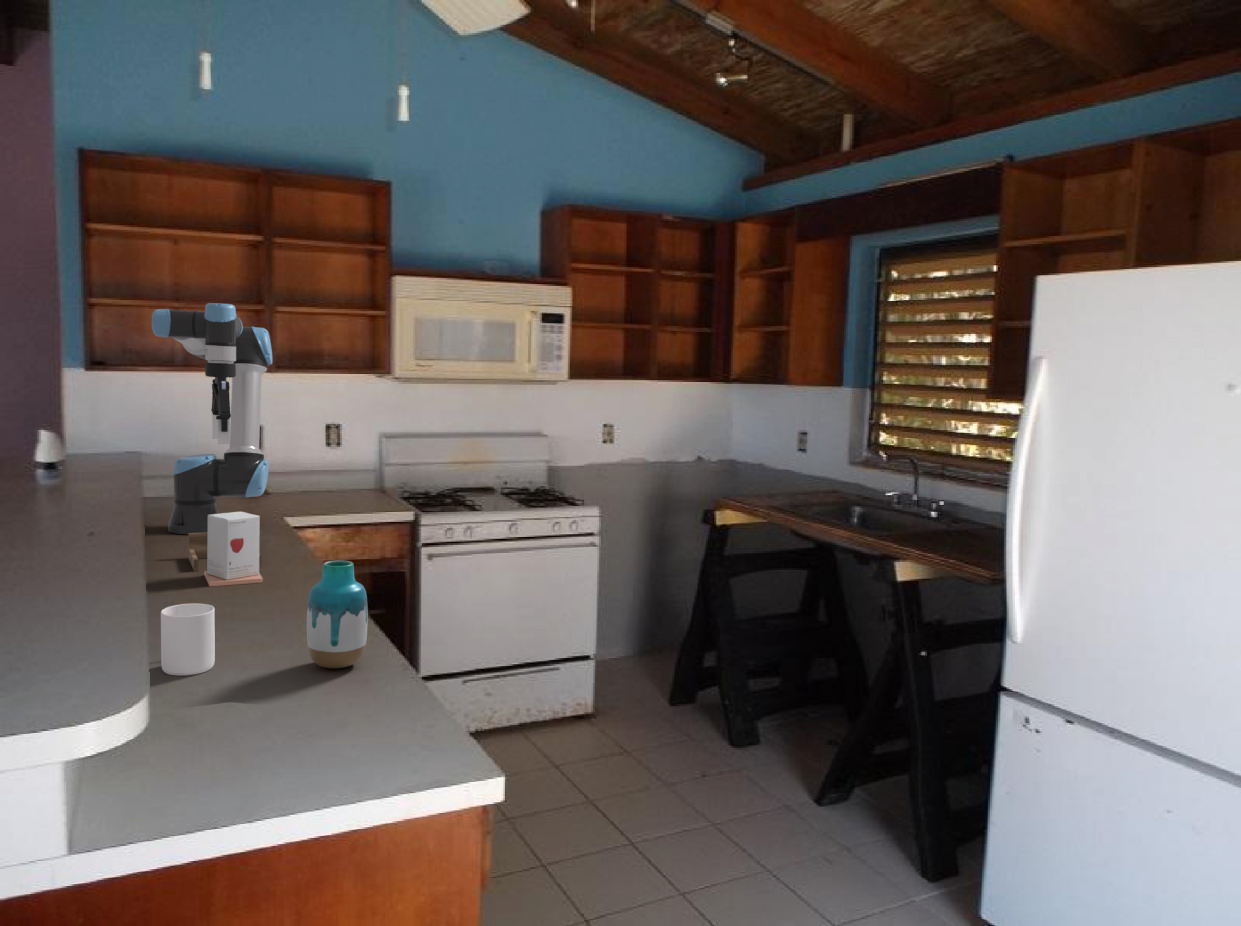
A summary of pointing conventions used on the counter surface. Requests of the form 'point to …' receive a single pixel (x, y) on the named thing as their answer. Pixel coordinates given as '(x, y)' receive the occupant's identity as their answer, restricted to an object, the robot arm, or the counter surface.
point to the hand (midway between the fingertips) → (220, 441)
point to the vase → (337, 617)
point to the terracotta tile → (232, 580)
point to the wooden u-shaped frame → (200, 548)
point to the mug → (187, 639)
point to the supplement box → (233, 545)
